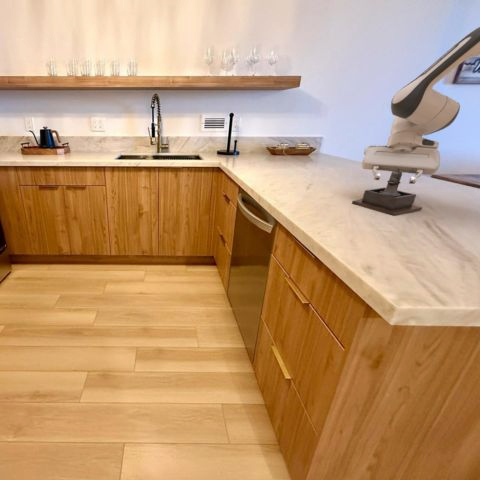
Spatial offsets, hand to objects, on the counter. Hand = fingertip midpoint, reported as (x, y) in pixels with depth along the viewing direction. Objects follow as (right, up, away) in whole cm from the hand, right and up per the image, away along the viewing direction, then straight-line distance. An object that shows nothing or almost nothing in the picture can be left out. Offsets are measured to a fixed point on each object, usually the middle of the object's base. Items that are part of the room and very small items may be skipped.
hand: (394, 180), depth 94 cm
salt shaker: (0, -7, +3) cm, 8 cm away
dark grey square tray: (-1, -8, +3) cm, 9 cm away
